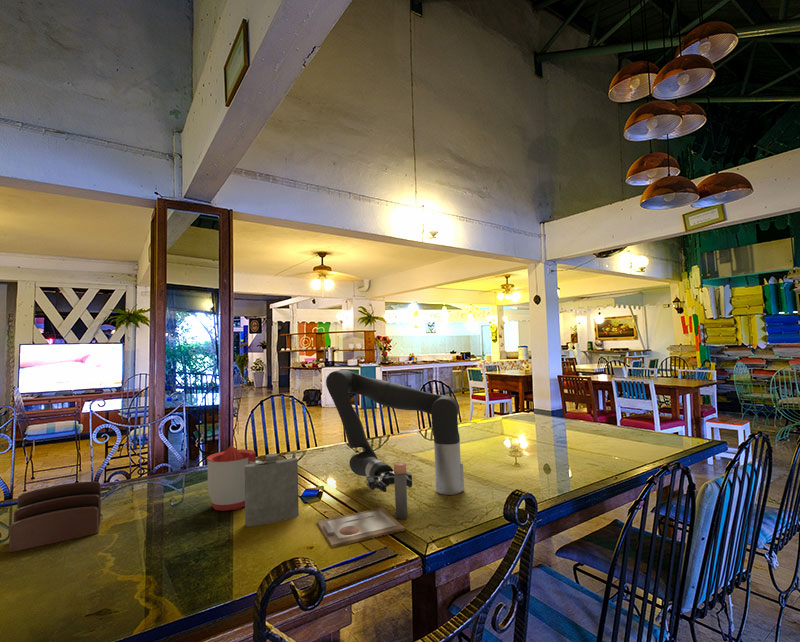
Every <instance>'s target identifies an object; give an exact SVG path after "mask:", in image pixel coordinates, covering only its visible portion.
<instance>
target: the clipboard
mask: <svg viewBox="0 0 800 642" xmlns="http://www.w3.org/2000/svg"><path fill="white" fill-rule="evenodd" d="M316 525H317V526H318V528H319V529H320V532H322V534H323V536H324V537H325V539H326V541H327V543H328V544H329V546H330V547H331V548H334V549H335V548H336V547H340V546H341V547H342V546H346V545H350V544H354V543H358V542H361V541H362V540H363V541H366V539H367V540H370V539H369V538H371V539H376V538H379V537H378V536H380V537H383V536H382V535H384V536H388V535H391V534H392V535H393V534H395V533H394V532H397V533H399V532H398V531H401V532H405V531H404V530H406V529H405V527H404V526H403V525H402V524H401V523H400V522H399V521H398V519H395V517H393V516H392V515H391V514H390V513H389V512H388V511H387V510H385V509H384V508H383V507H378V508H373V509H370V510H364V511H358V512H355V513H351V514H350V513H349V514H346V515H345V514H344V515H340V516H335V517H331V518H330V517H329V518H326V519H325V518H324V519H322V520H321V519H320V520H317V521H316ZM375 537H376V538H375ZM363 541H362V542H363Z"/></svg>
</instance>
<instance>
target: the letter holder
mask: <svg viewBox="0 0 800 642" xmlns="http://www.w3.org/2000/svg"><path fill="white" fill-rule="evenodd" d="M101 489H102V485H101V482H99V481H95V480H94V481H78V482H71V483H70V482H69V483H63V484H57V485H52V486H47V487H42V488H38V489H34V490H30V491H27V492H24V493H23V492H22V493H21V494H20V495H18V497H17V499H16V500H17V505H16V506H17V509H15V510H14V512H13V522H12V523H11V524H10V526H9V532H8V533H9V539H8V540H9V541H8V553H9V554H11V553H15V552H19V551H24V550H29V549H33V548H37V547H43V546H48V545H53V544H58V543H61V542H65V541H69V540H74V539H79V538H84V537H88V536H92V535H98V534H99V531H100V527H101V521H102V520H101V514H102V513H101V512H102V511H101V508H102V507H101V505H102V503H101V502H102V496H101V495H102V493H101V492H102V491H101Z"/></svg>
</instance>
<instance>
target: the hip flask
mask: <svg viewBox="0 0 800 642" xmlns="http://www.w3.org/2000/svg"><path fill="white" fill-rule="evenodd" d="M278 457H279V454H278V453H268V454H265V459H266V460H264V461H262V462H261V461H260V462H258V463H255V464H248V465H245V506H244V521H245V523H244V525H245V527H257V526H262V525H263V526H264V525H268V524H269V525H270V524H273V523H277V522H282V521H286V520H291V519H293V518H294V519H295V518H297V517H299V515H300V514H299V512H300V511H299V472H298V471H299V467H298V466H299V464H298V462H299V461H298V458H297V457H291V458H286V459H281V460H280V459H279V460H278ZM277 460H278V461H277Z"/></svg>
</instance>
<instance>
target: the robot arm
mask: <svg viewBox="0 0 800 642" xmlns="http://www.w3.org/2000/svg"><path fill="white" fill-rule="evenodd" d="M325 386H326V388H327V389H326V390H328V393H329V396H330V397H331V399H332V402H333V404H334V406H335V409H336V410H337V412H338V416H339V417H340V420H341V423H342V426H343V430H344V433H345V435H346V439H347V443H348V445H349V448H351V449H358V448H362V450H363V451H361V452H359V453H357V454H354V455H352V456H351V457H350V458H349V464H348V465H349V468H350V470H351V471H352V473H354V474H355V475H357V476H362V477H366V486H367V487H368V488H369V489H370V490H372V491H374V490H378V491H379V490H380V491H382V492H383V493H387V488H388V487H389V486H393V485H395V478H394V468H393V467H392V466H391V465H389V464H388V463H386V462H384V461H382V460H381V459H380V460H379V459H378V456H377V455H376V452H375V450H373V448H372V446H371V445H370V442H369V440H368V438H367V436H366V432H365V430H364V426H363V422H362V420H361V418H360V416H359V415H358V414H357V412H356V410H355V409H354V406H353V405H352V403H351V399H350V395H349V394H355V395H361V396H364V397H366V398H368V399H370V400H372V401H373V402H374V403H376V404H379V405H380V406H381V405H382V406H384V407H387V408H391V409H396V410H401V411H402V410H404V411H418V412H422V413H426V414H428V415H431V416H430V417H431V430H432V435H433V446H434V447H433V449H434V472H435V491H436V493H437V494H440V495H445V496H451V495H452V496H453V495H459V494H460V493H462V492H464V491H465V473H464V463H463V462H462V461H461V460H462V459H461V441H460V437H461V436H460V432H459V424H458V423H459V422H458V415H459V413H460V410H461V409H460V404H459V402H458V400H457V399H455V398H454V397H453V396H451V395H444V394H436V393H429V392H425V391H422V390H419V389H417V388H416V389H415V388H414V387H410V386H407V385H404V384H402V383H401V384H400V383H396V382H393V381H388V380H383V379H378V378H372V377H367V376H364V375H362V374H359V373H356V372H354V371H351V370H349V369H345V368H344V369H339V370H338V369H337V370H333V371H331V372H330V373H328V374H327V377H326V380H325ZM406 485H407V488H412V486H413V474H412V473H410V472H407V471H406Z"/></svg>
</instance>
